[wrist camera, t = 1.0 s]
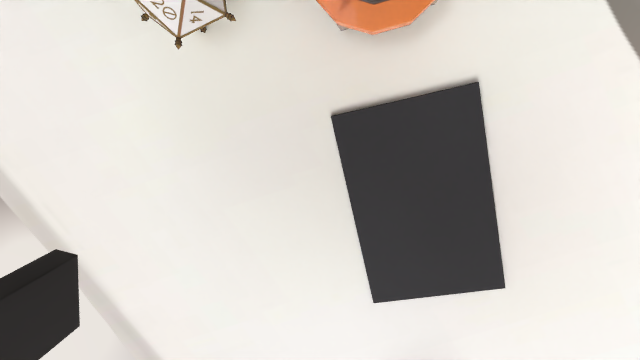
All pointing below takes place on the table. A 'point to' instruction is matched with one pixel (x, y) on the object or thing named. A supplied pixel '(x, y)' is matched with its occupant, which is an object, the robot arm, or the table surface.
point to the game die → (184, 15)
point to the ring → (374, 13)
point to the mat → (422, 194)
